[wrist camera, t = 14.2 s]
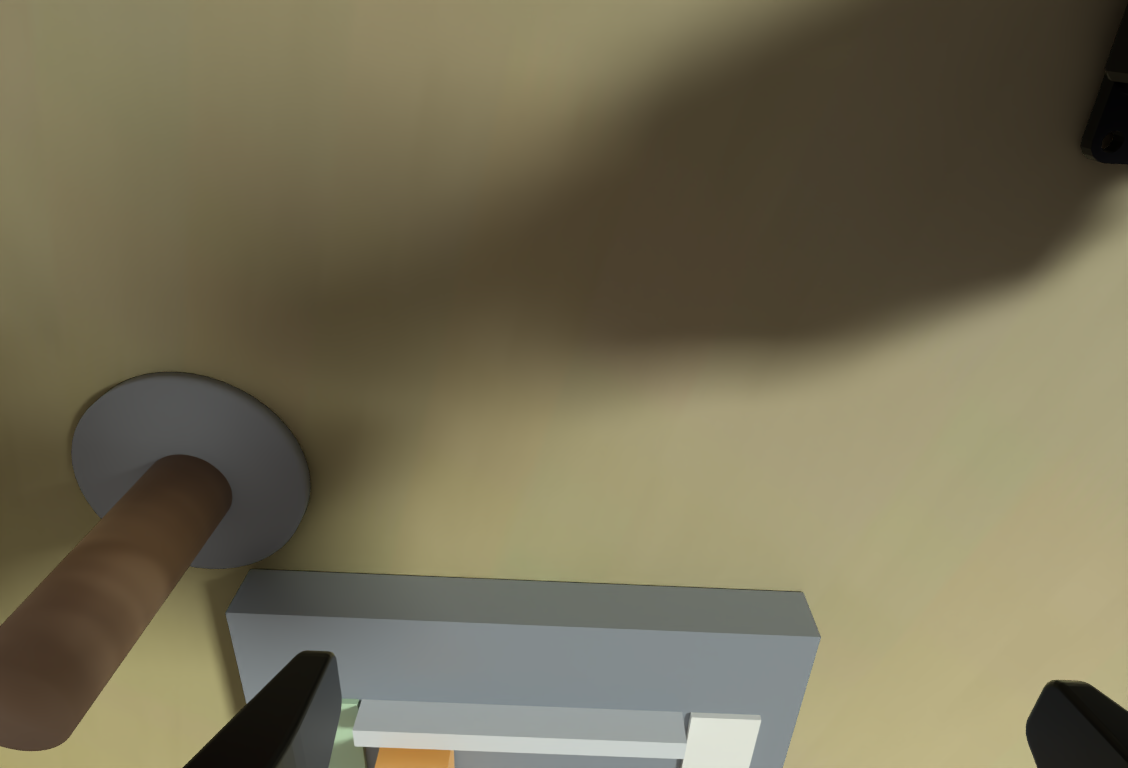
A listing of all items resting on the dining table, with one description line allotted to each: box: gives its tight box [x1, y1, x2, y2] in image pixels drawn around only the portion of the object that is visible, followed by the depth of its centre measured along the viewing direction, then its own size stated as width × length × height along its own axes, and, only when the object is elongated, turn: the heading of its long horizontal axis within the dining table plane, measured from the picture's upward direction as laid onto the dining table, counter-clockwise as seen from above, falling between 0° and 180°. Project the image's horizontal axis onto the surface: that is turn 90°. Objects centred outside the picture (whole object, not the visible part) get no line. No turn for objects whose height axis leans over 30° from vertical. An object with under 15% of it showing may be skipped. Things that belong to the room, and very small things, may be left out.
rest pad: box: [71, 372, 311, 569], centre depth 23 cm, size 7×7×1 cm
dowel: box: [0, 454, 232, 751], centre depth 19 cm, size 3×3×8 cm
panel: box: [225, 569, 821, 768], centre depth 26 cm, size 19×13×3 cm
